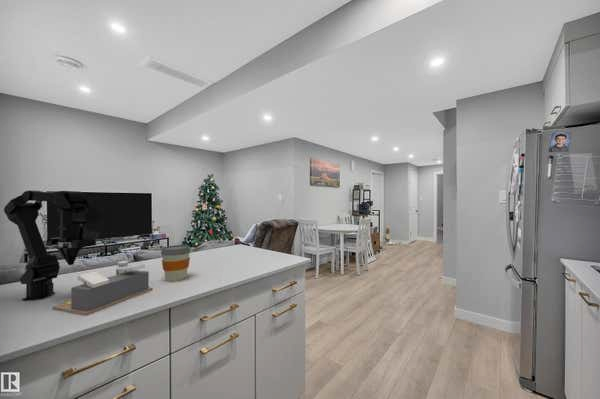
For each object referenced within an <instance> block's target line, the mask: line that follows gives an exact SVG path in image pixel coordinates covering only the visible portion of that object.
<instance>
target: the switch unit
mask: <svg viewBox="0 0 600 399" xmlns="http://www.w3.org/2000/svg"><path fill="white" fill-rule="evenodd" d="M149 274H150V273H149V271H145V270H139V269H138V270H135V271H131V272H128V273H122V274H119V275H116V274H115V275H112V276H109V277H106V278H107V279H109V283H108V284H105V285H102V286H98V287H95V288H91V287H90V286H88V285H86V284H84V283H83V284H80V285H77V286H73V287H70V288H71V289H70V290H71V294H70V295H71V296H70V299H71V300H69V301H66V302H64V303H61V304H57V305H54V306H52V308H51V309H52V310H54V311H60V312H66V313H71V314H76V315H81V316H89V315H91V314H93V313H96V312H99V311H102V310H104V309H107V308H109V307H112V306H114V305H116V304H119V303H123V302H124V301H127V300H130V299H132V298H135V297H138V296H140V295H143V294H146V293H148V292H150V291H152V290H153V287H151V286H150V285H149V280H150V279H149V278H150V277H149Z"/></svg>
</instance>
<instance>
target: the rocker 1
mask: <svg viewBox="0 0 600 399" xmlns="http://www.w3.org/2000/svg"><path fill="white" fill-rule="evenodd" d="M107 278H108V277H105V276H104V275H102V274H100V273H99V272H96V271H91V272H87V273H82V274H78V275H77V280H78V281H80V282H81V283H83V284H86V285H88V286H90V287H91V288H95V287H98V286H102V285H105V284H108V283H109V279H107Z"/></svg>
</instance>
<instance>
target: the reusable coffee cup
mask: <svg viewBox="0 0 600 399" xmlns="http://www.w3.org/2000/svg"><path fill="white" fill-rule="evenodd" d="M190 253H191V247H190V245H187V244H179V245H177V244H176V245H175V244H174V245H169V246H164V247H162V248H161V257H162V260H161V262H162V263H161V264H162V265H161V266H162V270H163V271H164V277H165V278H164V279H165V281H166V282H179V281H182V279H183V280H185V279H187V275H188V268H189V267H190V266H189V265H190V259H191V257H190ZM184 278H185V279H184ZM178 280H179V281H178Z"/></svg>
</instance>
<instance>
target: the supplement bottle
mask: <svg viewBox="0 0 600 399" xmlns="http://www.w3.org/2000/svg"><path fill="white" fill-rule="evenodd" d="M128 267H131V266H130V263H129V260H121V261H118V262H117V267H116V268H115V275H119V274H122V273H119V272H118V270H120V269H124V268H128ZM124 273H125V272H124Z"/></svg>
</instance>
